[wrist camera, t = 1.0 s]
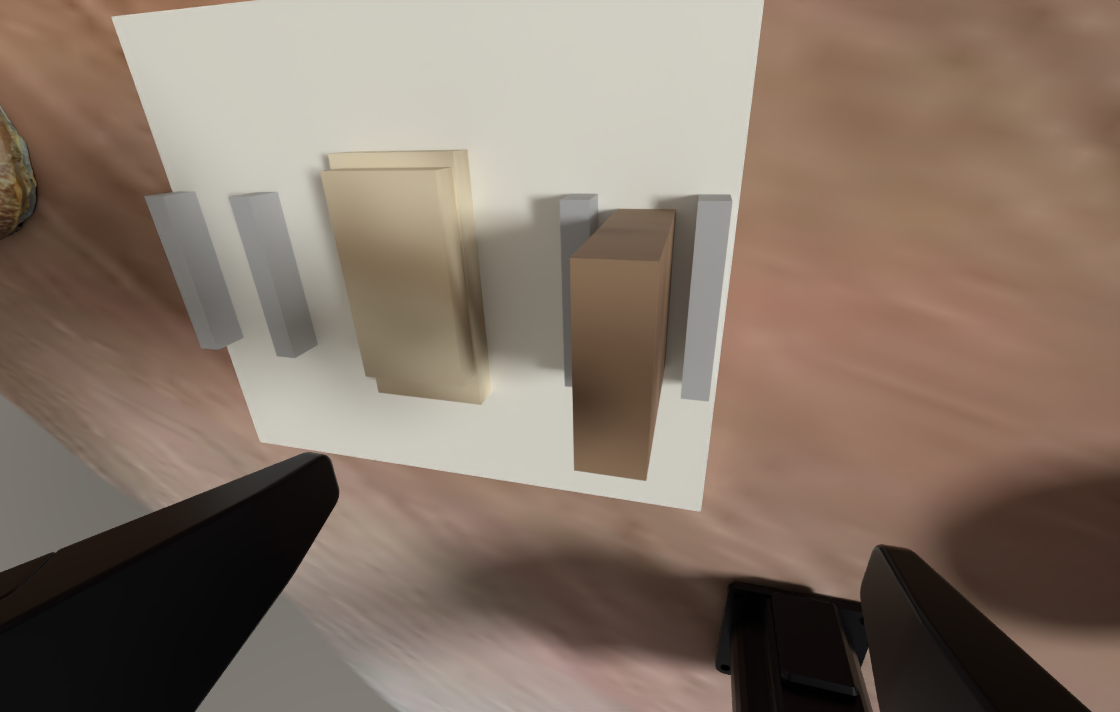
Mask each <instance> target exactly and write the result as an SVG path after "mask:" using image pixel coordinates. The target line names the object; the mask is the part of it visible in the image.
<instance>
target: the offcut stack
mask: <svg viewBox="0 0 1120 712" xmlns="http://www.w3.org/2000/svg"><path fill="white" fill-rule="evenodd" d="M328 158H329V163H330V168H331V170H325V171H320V174H321V179H322V183H323V188H324V192H325V197H326V201H327V206H328V210H329V215H330V219H331V224H332V228H333V232H334V237H335V241H336V246H337V250H338V255H339V259H340V264H341V268H342V273H343V277H344V282H345V286H346V291H347V295H348V300H349V304H350V309H351V313H352V318H353V322H354V326H355V331H356V335H357V340H358V344H359V349H360V353H361V358H362V362H363V367H364V371H365V376H366V377H375V378H376V383H377V387H378V392H379V393H386V394H394V395H403V396H411V397H419V398H428V399H436V400H445V401H453V402H461V403H470V404H478V405H481V404H482V403H483V402H484V401H485V399H486V398H487V397H488V395H489V394H490V393H491V392H492V389H491V379H490V369H489V359H488V349H487V339H486V329H485V319H484V309H483V299H482V289H481V279H480V269H479V259H478V249H477V239H476V229H475V219H474V209H473V199H472V189H471V179H470V169H469V160H468V150H416V151H361V152H340V153H329V154H328Z"/></svg>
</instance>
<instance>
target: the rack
mask: <svg viewBox="0 0 1120 712" xmlns="http://www.w3.org/2000/svg"><path fill="white" fill-rule="evenodd" d="M763 5H764V0H256V1H247V2H238V3H229V4H221V5H212V6H203V7H194V8H185V9H176V10H167V11H158V12H149V13H140V14H131V15H122V16H114V17H112V20H113V23H114V26H115V29H116V31H117V34H118V37H119V40H120V43H121V46H122V49H123V51H124V54H125V57H126V60H127V63H128V66H129V69H130V71H131V74H132V77H133V80H134V83H135V86H136V89H137V91H138V94H139V97H140V100H141V103H142V106H143V109H144V111H145V114H146V117H147V120H148V123H149V126H150V129H151V131H152V134H153V137H154V140H155V143H156V146H157V149H158V151H159V154H160V157H161V160H162V163H163V166H164V169H165V171H166V174H167V177H168V180H169V183H170V186H171V189H172V191H173V192H170V193H163V194H156V195H148V196H144V197H145V200H146V202H147V205H148V208H149V210H150V213H151V216H152V218H153V221H154V224H155V226H156V229H157V232H158V234H159V237H160V240H161V242H162V245H163V248H164V250H165V253H166V256H167V258H168V261H169V264H170V266H171V269H172V272H173V274H174V277H175V280H176V282H177V285H178V288H179V290H180V293H181V296H182V298H183V301H184V304H185V306H186V309H187V312H188V314H189V317H190V320H191V322H192V325H193V328H194V330H195V333H196V336H197V338H198V341H199V344H200V346H201V348H203V349H212V350H219V349H221V348H223V347H225V346H227V349H228V351H229V354H230V357H231V360H232V363H233V366H234V369H235V371H236V374H237V377H238V380H239V383H240V386H241V389H242V391H243V394H244V397H245V400H246V403H247V406H248V409H249V411H250V414H251V417H252V420H253V423H254V426H255V429H256V431H257V434H258V437H259V440H260V442H264V443H271V444H277V445H283V446H289V447H296V448H302V449H308V450H315V451H321V452H327V453H334V454H340V455H346V456H353V457H359V458H365V459H372V460H378V461H384V462H390V463H397V464H403V465H409V466H416V467H422V468H428V469H435V470H441V471H447V472H454V473H460V474H466V475H473V476H479V477H485V478H491V479H498V480H504V481H510V482H517V483H523V484H529V485H536V486H542V487H548V488H555V489H561V490H567V491H574V492H580V493H586V494H592V495H599V496H605V497H611V498H618V499H624V500H630V501H637V502H643V503H649V504H656V505H662V506H668V507H674V508H681V509H687V510H693V511H700V512H701V506H702V498H703V489H704V481H705V473H706V465H707V457H708V449H709V441H710V433H711V425H712V417H713V409H714V401H715V393H716V385H717V376H718V368H719V360H720V352H721V344H722V336H723V328H724V320H725V312H726V304H727V296H728V288H729V280H730V272H731V263H732V255H733V247H734V239H735V231H736V223H737V215H738V207H739V199H740V191H741V183H742V175H743V167H744V159H745V150H746V142H747V134H748V126H749V118H750V110H751V102H752V94H753V86H754V78H755V70H756V62H757V54H758V46H759V37H760V29H761V21H762V13H763ZM416 150H468V160H469V169H470V179H471V189H472V199H473V209H474V219H475V229H476V239H477V249H478V259H479V269H480V279H481V289H482V299H483V309H484V319H485V329H486V339H487V349H488V359H489V369H490V379H491V389H492V392H491V393H490V394H489V395H488V397H487V398H486V399H485V401H484V402H483V403H482V404H481V405H478V404H470V403H461V402H453V401H445V400H436V399H428V398H419V397H411V396H403V395H394V394H386V393H379V392H378V387H377V383H376V378H375V377H366V376H365V371H364V367H363V362H362V358H361V353H360V349H359V344H358V340H357V335H356V331H355V326H354V322H353V318H352V313H351V309H350V304H349V300H348V295H347V291H346V286H345V282H344V277H343V273H342V268H341V264H340V259H339V255H338V250H337V246H336V241H335V237H334V232H333V228H332V224H331V219H330V215H329V210H328V206H327V201H326V197H325V192H324V188H323V183H322V179H321V174H320V171H325V170H331V168H330V163H329V158H328V154H329V153H340V152H361V151H416ZM617 209H676V219H675V233H674V247H673V261H672V275H671V289H670V303H669V317H668V331H667V345H666V359H665V370H664V376H663V382H662V388H661V394H660V400H659V406H658V412H657V418H656V425H655V431H654V437H653V443H652V449H651V455H650V461H649V467H648V473H647V480H646V481H642V480H635V479H628V478H622V477H615V476H608V475H601V474H594V473H588V472H581V471H574V448H573V397H572V346H571V295H570V257H571V256H572V255H573V254H574V253H575V252H576V251H577V250H578V249H579V248H580V247H581V246H582V245H583V244H584V243H585V242H586V241H587V240H588V239H589V238H590V237H591V236H592V235H593V234H594V233H595V232H596V231H597V230H598V228H599V227H600V226H601V225H602V224H603V223H604V222H605V221H606V220H607V219H608V218H609V217H610V216H611V215H612V214H613V213H614V212H615V211H616V210H617Z"/></svg>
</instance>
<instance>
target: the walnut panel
mask: <svg viewBox="0 0 1120 712" xmlns="http://www.w3.org/2000/svg"><path fill="white" fill-rule="evenodd" d="M675 219H676V209H617V210H616V211H615V212H614V213H613V214H612V215H611V216H610V217H609V218H608V219H607V220H606V221H605V222H604V223H603V224H602V225H601V226H600V227H599V228H598V230H597V231H596V232H595V233H594V234H593V235H592V236H591V237H590V238H589V239H588V240H587V241H586V242H585V243H584V244H583V245H582V246H581V247H580V248H579V249H578V250H577V251H576V252H575V253H574V254H573V255H572V256H571V257H570V295H571V346H572V397H573V448H574V471H581V472H588V473H594V474H601V475H608V476H615V477H622V478H628V479H635V480H642V481H646V480H647V473H648V467H649V461H650V455H651V449H652V443H653V437H654V431H655V425H656V418H657V412H658V406H659V400H660V394H661V388H662V382H663V376H664V370H665V359H666V345H667V331H668V317H669V303H670V289H671V275H672V261H673V247H674V233H675Z"/></svg>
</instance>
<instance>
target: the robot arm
mask: <svg viewBox="0 0 1120 712" xmlns="http://www.w3.org/2000/svg"><path fill="white" fill-rule="evenodd" d="M338 498H339V486H338V483H337V479H336V475H335V472H334V468H333V465H332V461H331V459H330V458H329V457H328V456H327V455H324V454H318V453H312V452H306V453H302V454H300V455H297V456H295V457H292V458H290V459H287V460H284V461H282V462H279V463H277V464H274V465H272V466H269V467H267V468H264V469H262V470H259V471H257V472H254V473H252V474H249V475H247V476H244V477H241V478H239V479H236V480H234V481H231V482H229V483H226V484H224V485H221V486H219V487H216V488H214V489H211V490H209V491H206V492H203V493H201V494H198V495H196V496H193V497H191V498H188V499H186V500H183V501H181V502H178V503H176V504H173V505H171V506H168V507H166V508H163V509H160V510H158V511H155V512H153V513H150V514H148V515H145V516H143V517H140V518H138V519H135V520H133V521H130V522H128V523H125V524H123V525H120V526H118V527H115V528H112V529H110V530H108V531H105V532H102V533H100V534H97V535H95V536H92V537H90V538H87V539H85V540H82V541H80V542H77V543H74V544H72V545H69V546H67V547H64V548H62V549H60V550H58V551H57V552H56V553H55V552H52V553H49V554H46V555H44V556H41V557H39V558H36V559H34V560H31V561H29V562H26V563H24V564H21V565H18V566H16V567H13V568H11V569H8V570H5V571H3V572H0V712H195V711H196V710H197V708H198V707H199V706H200V704H201V703H202V701H203V700H204V698H205V697H206V696H207V694H208V693H209V692H210V690H211V689H212V687H213V686H214V685H215V683H216V682H217V681H218V679H219V678H220V677H221V675H222V674H223V672H224V671H225V670H226V668H227V667H228V665H229V664H230V663H231V661H232V660H233V658H234V657H235V656H236V654H237V653H238V652H239V650H240V649H241V647H242V646H243V644H244V643H245V642H246V641H247V639H248V638H249V636H250V635H251V634H252V632H253V631H254V630H255V628H256V627H257V625H258V624H259V622H260V621H261V620H262V618H263V617H264V616H265V614H266V613H267V611H268V610H269V609H270V607H271V606H272V605H273V603H274V602H275V600H276V599H277V598H278V596H279V595H280V594H281V592H282V591H283V589H284V588H285V586H286V585H287V584H288V582H289V581H290V579H291V578H292V576H293V575H294V573H295V572H296V570H297V568H298V567H299V565H300V563H301V562H302V560H303V558H304V557H305V555H306V553H307V552H308V550H309V548H310V547H311V545H312V543H313V542H314V540H315V538H316V537H317V535H318V533H319V532H320V530H321V528H322V527H323V525H324V523H325V522H326V520H327V518H328V517H329V515H330V513H331V512H332V510H333V508H334V507H335V505H336V503H337V501H338ZM860 599H861V605H857V604H851V603H846V602H841V601H835V600H830V599H825V598H820V597H814V596H809V595H804V594H798V593H793V592H788V591H782V590H777V589H772V588H767V587H761V586H756V585H751V584H745V583H740V582H733V583H731V584H729V585H728V587H727V593H726V599H725V605H724V611H723V616H722V622H721V628H720V634H719V640H718V646H717V652H716V658H715V662H716V669H717V670H718V671H719V672H721V673H724V674H728V675H731V689H732V711H733V712H873V710H872V707H871V703H870V699H869V696H868V692H867V689H866V685H865V682H864V678H863V675H862V671H861V666H862V663H863V660H864V658H865V655H866V652H867V650H868V647H869V652H870V658H871V664H872V670H873V676H874V681H875V687H876V693H877V699H878V704H879V709H880V712H1091V711H1090V710H1089V709H1088V708H1087V707H1086V706H1085V705H1084V704H1082V703H1081V702H1080V701H1079V700H1078V699H1077V698H1076V697H1075V696H1074V695H1072V694H1071V693H1070V692H1069V691H1068V690H1067V689H1066V688H1065V687H1064V686H1062V685H1061V684H1060V683H1059V682H1058V681H1057V680H1056V679H1055V678H1054V677H1053V676H1051V675H1050V674H1049V673H1048V672H1047V671H1046V670H1045V669H1044V668H1043V667H1041V666H1040V665H1039V664H1038V663H1037V662H1036V661H1035V660H1034V659H1033V658H1031V657H1030V656H1029V655H1028V654H1027V653H1026V652H1025V651H1024V650H1023V649H1021V648H1020V647H1019V646H1018V645H1017V644H1016V643H1015V642H1014V641H1013V640H1011V639H1010V638H1009V637H1008V636H1007V635H1006V634H1005V633H1004V632H1003V631H1001V630H1000V629H999V628H998V627H997V626H996V625H995V624H994V623H993V622H991V621H990V620H989V619H988V618H987V617H986V616H985V615H984V614H983V613H981V612H980V611H979V610H978V609H977V608H976V607H975V606H974V605H973V604H972V603H970V602H969V601H968V600H967V599H966V598H965V597H964V596H963V595H962V594H960V593H959V592H958V591H957V590H956V589H955V588H954V587H953V586H952V585H950V584H949V583H948V582H947V581H946V580H945V579H944V578H943V577H942V576H940V575H939V574H938V573H937V572H936V571H935V570H934V569H933V568H932V567H930V566H929V565H928V564H927V563H926V562H925V561H924V560H923V559H922V558H920V557H919V556H918V555H917V554H916V553H915V552H913V551H912V550H910V549H907V548H902V547H896V546H890V545H883V544H880V545H877V546H876V547H875V548H874V549H873V551H872V554H871V557H870V560H869V563H868V566H867V569H866V572H865V575H864V578H863V581H862V584H861V589H860Z"/></svg>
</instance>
